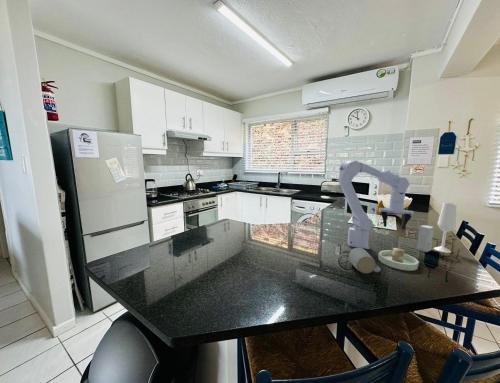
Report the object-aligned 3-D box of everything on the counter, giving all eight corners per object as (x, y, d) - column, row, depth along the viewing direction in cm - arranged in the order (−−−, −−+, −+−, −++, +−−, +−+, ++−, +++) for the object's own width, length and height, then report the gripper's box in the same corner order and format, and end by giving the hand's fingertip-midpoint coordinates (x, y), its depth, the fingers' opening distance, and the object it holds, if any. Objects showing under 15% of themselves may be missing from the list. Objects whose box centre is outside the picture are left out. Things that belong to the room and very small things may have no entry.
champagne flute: (454, 253, 104) (462, 205, 101) (437, 251, 106) (445, 203, 103) (446, 248, 110) (454, 203, 107) (431, 246, 113) (438, 201, 109)
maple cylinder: (392, 261, 91) (394, 250, 90) (390, 258, 94) (392, 247, 94) (404, 263, 89) (405, 252, 88) (401, 260, 93) (403, 249, 92)
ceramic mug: (356, 274, 80) (358, 255, 79) (347, 264, 88) (349, 246, 87) (384, 276, 80) (387, 257, 79) (373, 266, 88) (375, 248, 87)
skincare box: (426, 252, 104) (430, 228, 103) (415, 249, 108) (419, 226, 106) (431, 250, 108) (435, 226, 106) (420, 247, 111) (424, 224, 110)
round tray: (381, 266, 88) (382, 260, 87) (375, 253, 101) (376, 248, 100) (423, 273, 83) (424, 267, 82) (411, 259, 96) (411, 253, 95)
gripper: (381, 200, 105) (378, 227, 107) (417, 203, 100) (413, 231, 102) (379, 198, 112) (376, 224, 113) (412, 201, 107) (408, 227, 108)
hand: (393, 227), depth 108 cm, fingers open, 7 cm apart
